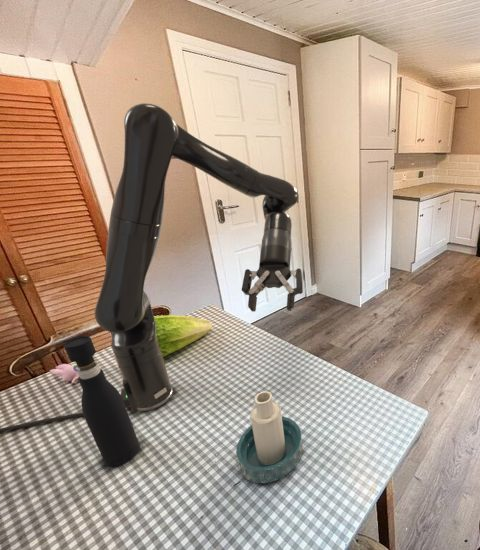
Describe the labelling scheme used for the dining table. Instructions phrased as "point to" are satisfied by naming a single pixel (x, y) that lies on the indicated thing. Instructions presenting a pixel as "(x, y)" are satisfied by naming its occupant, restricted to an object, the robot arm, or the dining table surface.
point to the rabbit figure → (66, 372)
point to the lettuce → (179, 331)
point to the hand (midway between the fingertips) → (271, 310)
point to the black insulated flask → (102, 406)
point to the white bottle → (268, 429)
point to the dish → (276, 471)
